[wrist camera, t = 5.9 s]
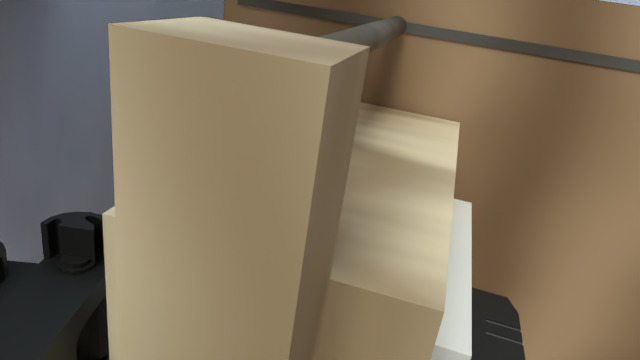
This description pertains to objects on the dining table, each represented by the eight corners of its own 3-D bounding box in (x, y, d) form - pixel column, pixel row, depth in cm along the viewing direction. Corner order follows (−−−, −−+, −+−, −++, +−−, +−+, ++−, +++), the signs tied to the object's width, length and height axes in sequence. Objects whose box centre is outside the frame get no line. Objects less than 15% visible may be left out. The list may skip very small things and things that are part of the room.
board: (228, 277, 23) (207, 302, 21) (252, -48, 17) (226, -53, 15) (702, 420, 18) (728, 467, 17) (936, 50, 13) (1013, 59, 11)
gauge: (288, 330, 22) (73, 724, 10) (334, -4, 16) (-32, -4, 4) (395, 364, 21) (296, 849, 9) (484, 20, 15) (533, 104, 3)
